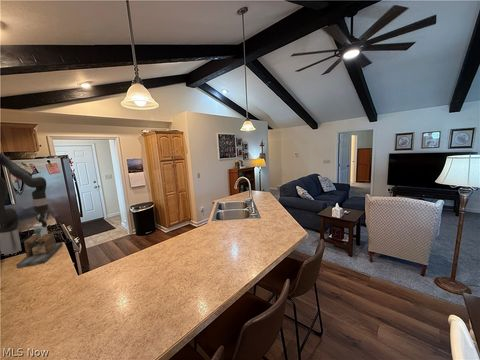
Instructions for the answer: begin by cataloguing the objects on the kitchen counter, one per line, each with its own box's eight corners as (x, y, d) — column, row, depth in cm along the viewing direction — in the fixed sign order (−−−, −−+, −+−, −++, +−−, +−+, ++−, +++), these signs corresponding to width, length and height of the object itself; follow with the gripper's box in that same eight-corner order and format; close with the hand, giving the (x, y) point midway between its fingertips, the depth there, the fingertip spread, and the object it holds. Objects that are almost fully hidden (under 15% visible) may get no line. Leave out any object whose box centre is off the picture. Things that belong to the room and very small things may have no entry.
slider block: (33, 254, 140) (28, 231, 138) (37, 251, 146) (33, 228, 143) (45, 252, 143) (41, 229, 140) (50, 249, 148) (46, 226, 146)
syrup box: (49, 238, 174) (46, 222, 171) (41, 241, 168) (38, 225, 166) (43, 238, 174) (40, 222, 172) (35, 241, 168) (32, 225, 166)
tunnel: (17, 268, 129) (13, 247, 127) (40, 248, 155) (37, 231, 153) (44, 263, 135) (41, 243, 132) (63, 245, 160) (60, 228, 158)
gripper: (39, 202, 153) (43, 224, 155) (28, 207, 140) (33, 230, 143) (51, 201, 155) (55, 223, 158) (42, 205, 143) (46, 228, 146)
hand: (44, 226), depth 150 cm, fingers closed
